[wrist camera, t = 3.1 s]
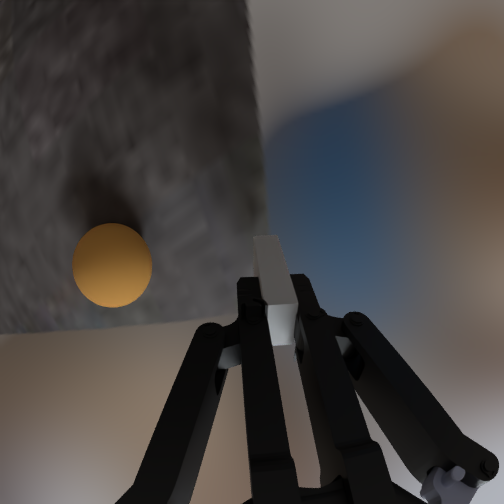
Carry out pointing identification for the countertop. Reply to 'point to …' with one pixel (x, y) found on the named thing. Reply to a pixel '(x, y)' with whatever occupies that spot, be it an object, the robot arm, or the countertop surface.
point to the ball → (112, 265)
